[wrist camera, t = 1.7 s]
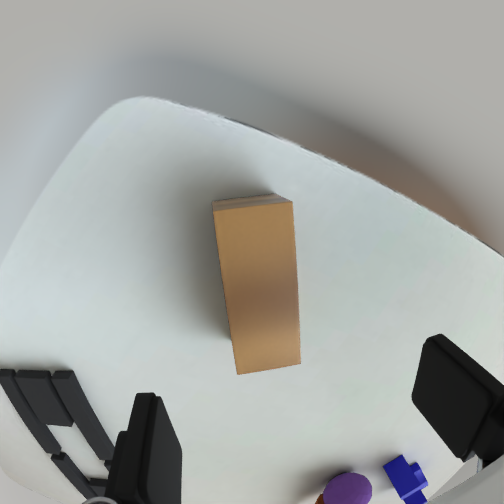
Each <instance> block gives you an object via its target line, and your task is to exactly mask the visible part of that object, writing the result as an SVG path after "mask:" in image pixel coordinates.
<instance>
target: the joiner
mask: <svg viewBox="0 0 504 504" xmlns="http://www.w3.org/2000/svg"><path fill="white" fill-rule="evenodd" d="M212 207H213V217H214V224H215V232H216V239H217V247H218V254H219V261H220V268H221V275H222V282H223V289H224V295H225V302H226V309H227V315H228V322H229V328H230V334H231V340H232V346H233V353H234V359H235V364H236V370H237V375H240V374H246V373H252V372H259V371H265V370H270V369H276V368H281V367H287V366H292V365H297V364H301V355H300V324H299V301H298V281H297V263H296V247H295V232H294V218H293V205H292V201H290V200H288V199H286V198H284V197H281V196H279V195H277V194H268V195H259V196H250V197H242V198H234V199H226V200H218V201H212Z"/></svg>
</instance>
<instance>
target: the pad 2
mask: <svg viewBox="0 0 504 504" xmlns="http://www.w3.org/2000/svg"><path fill="white" fill-rule="evenodd" d="M51 460H52V461H53V462H54V463H55V465H56V466H57V467H58V468H59V469H60V471H61V472H62V473H63V474H64V475H65V476H66V477H67V479H68V480H69V481H70V482H71V483H72V484H73V485H74V486H75V487H76V488H77V490H78V491H79V492H80V493H81V494H82V495H83V496H84V497H85V498H86V499H87V500H88V499H90V498H93V497H104V494H105V489H106V484H107V480H101V479H92V478H91V479H90V482H89V481H88V480H87V479H86V478H85V476H84V475H83V474H82V473H81V472H80V470H79V469H78V468H77V467H76V466H75V464H74V463H73V462H72V460H71V459H70V458H69V457H68V455H67V454H66V453H60V454H59V455H56V454H52V456H51ZM111 462H112V460H105V463H104V466H105V467H106V468H107V470H108V471H109V470H110V466H111Z"/></svg>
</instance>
